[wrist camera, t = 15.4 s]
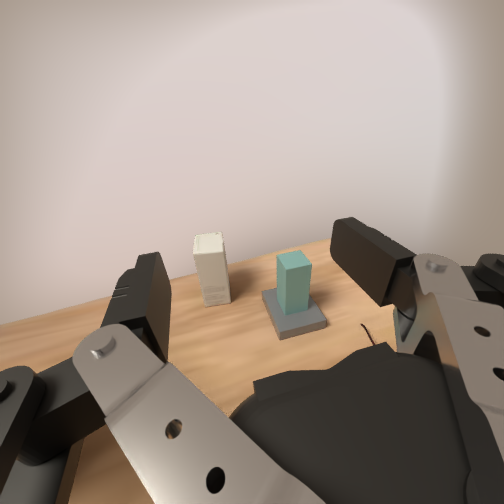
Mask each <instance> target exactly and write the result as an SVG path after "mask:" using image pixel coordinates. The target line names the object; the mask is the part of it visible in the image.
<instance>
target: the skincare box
mask: <svg viewBox="0 0 504 504" xmlns="http://www.w3.org/2000/svg"><path fill="white" fill-rule="evenodd" d="M193 256H194V260H195V264H196V269H197V273H198V278H199V282H200V286H201V291H202V295H203V299H204V304H205V307H209V306H216V305H223V304H230V303H231V297H230V284H229V276H228V268H227V261H226V254H225V248H224V240H223V235H222V232H216V233H209V234H200V235H195V241H194V249H193Z"/></svg>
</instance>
